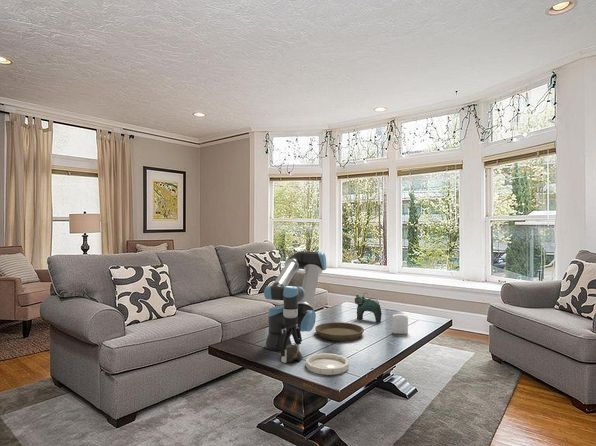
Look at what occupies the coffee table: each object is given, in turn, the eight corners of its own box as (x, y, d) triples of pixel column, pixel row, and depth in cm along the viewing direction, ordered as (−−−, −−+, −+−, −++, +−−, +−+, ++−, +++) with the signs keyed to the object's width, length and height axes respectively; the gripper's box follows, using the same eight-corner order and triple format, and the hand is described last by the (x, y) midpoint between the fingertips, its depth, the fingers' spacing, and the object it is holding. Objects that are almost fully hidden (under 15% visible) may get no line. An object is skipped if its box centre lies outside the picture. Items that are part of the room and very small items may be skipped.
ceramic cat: (354, 318, 278) (354, 292, 278) (357, 317, 284) (358, 290, 284) (379, 323, 267) (379, 295, 267) (382, 321, 272) (382, 293, 272)
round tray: (297, 367, 184) (297, 362, 184) (321, 355, 201) (321, 350, 201) (334, 378, 171) (334, 372, 171) (356, 364, 188) (356, 359, 188)
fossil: (276, 361, 191) (279, 341, 196) (283, 364, 198) (286, 345, 203) (295, 364, 187) (299, 343, 191) (302, 366, 194) (305, 347, 199)
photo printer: (407, 332, 244) (407, 313, 244) (408, 334, 240) (408, 315, 240) (391, 332, 245) (391, 313, 245) (392, 333, 241) (392, 314, 241)
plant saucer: (319, 326, 258) (319, 320, 258) (364, 329, 251) (364, 322, 251) (311, 340, 227) (311, 333, 227) (363, 344, 221) (363, 336, 221)
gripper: (282, 321, 183) (282, 367, 183) (308, 313, 201) (308, 354, 201) (271, 319, 188) (270, 364, 188) (297, 311, 206) (297, 351, 206)
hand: (290, 359), depth 194 cm, fingers closed on fossil, 10 cm apart
